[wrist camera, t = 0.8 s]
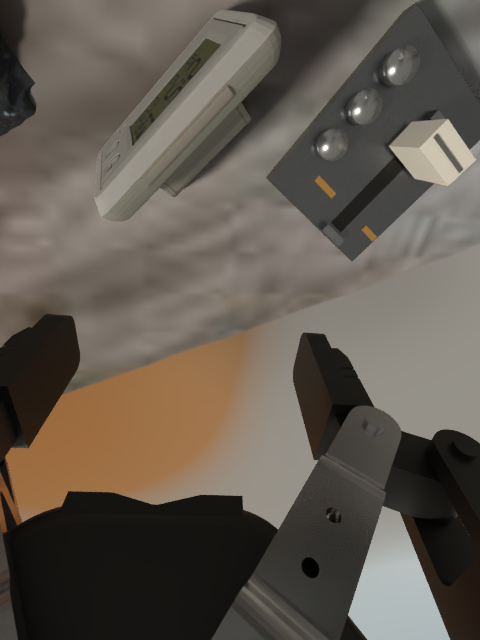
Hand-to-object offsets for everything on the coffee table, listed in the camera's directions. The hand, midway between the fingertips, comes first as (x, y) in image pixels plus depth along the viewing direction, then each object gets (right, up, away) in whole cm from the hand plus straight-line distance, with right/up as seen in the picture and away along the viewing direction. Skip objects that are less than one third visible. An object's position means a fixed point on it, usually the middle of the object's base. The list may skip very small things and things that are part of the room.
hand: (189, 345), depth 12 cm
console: (+14, +17, +19) cm, 29 cm away
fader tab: (+17, +16, +17) cm, 29 cm away
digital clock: (-3, +19, +17) cm, 26 cm away
